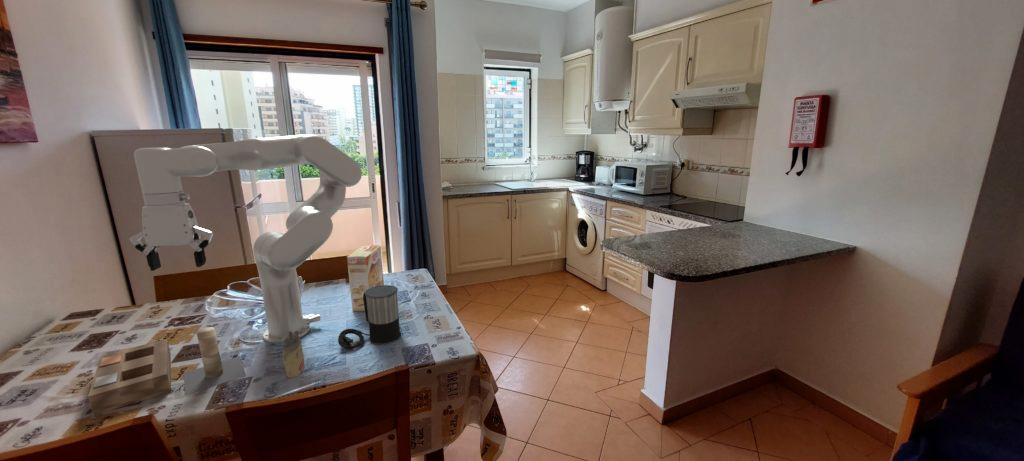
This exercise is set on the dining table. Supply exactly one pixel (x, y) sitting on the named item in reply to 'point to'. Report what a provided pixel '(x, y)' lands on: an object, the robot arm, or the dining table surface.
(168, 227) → the robot arm
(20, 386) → the dining table surface
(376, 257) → the coffeecake box
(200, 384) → the mat
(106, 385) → the socket block
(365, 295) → the milk frother
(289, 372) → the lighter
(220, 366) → the peg
